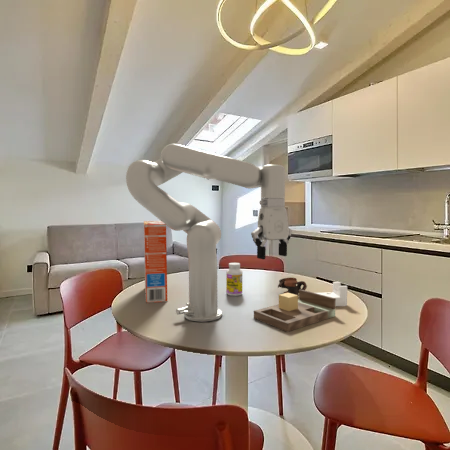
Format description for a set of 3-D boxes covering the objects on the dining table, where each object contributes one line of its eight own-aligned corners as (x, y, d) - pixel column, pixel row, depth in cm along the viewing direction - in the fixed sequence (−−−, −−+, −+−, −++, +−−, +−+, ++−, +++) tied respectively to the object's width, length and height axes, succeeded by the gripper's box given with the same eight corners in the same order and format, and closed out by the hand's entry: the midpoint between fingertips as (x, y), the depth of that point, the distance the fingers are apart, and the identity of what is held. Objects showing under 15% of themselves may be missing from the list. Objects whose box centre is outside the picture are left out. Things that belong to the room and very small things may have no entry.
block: (288, 311, 113) (288, 297, 113) (278, 307, 117) (278, 294, 116) (297, 308, 116) (298, 295, 115) (287, 305, 119) (288, 292, 119)
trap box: (287, 331, 102) (287, 311, 101) (253, 318, 114) (253, 300, 114) (335, 316, 116) (335, 298, 115) (300, 305, 128) (300, 289, 127)
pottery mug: (276, 298, 138) (274, 278, 142) (283, 303, 146) (280, 284, 150) (306, 293, 134) (303, 273, 138) (311, 298, 142) (308, 279, 146)
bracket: (339, 301, 134) (339, 281, 133) (346, 306, 127) (347, 286, 126) (306, 302, 133) (306, 282, 132) (312, 307, 126) (312, 287, 125)
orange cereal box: (167, 301, 133) (166, 224, 131) (146, 303, 132) (144, 224, 129) (163, 287, 156) (162, 220, 154) (145, 288, 154) (143, 221, 152)
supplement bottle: (223, 295, 142) (223, 264, 141) (230, 291, 148) (230, 261, 147) (238, 297, 139) (238, 265, 138) (244, 293, 145) (244, 262, 144)
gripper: (261, 204, 102) (260, 261, 103) (299, 204, 112) (299, 256, 114) (244, 204, 108) (244, 258, 109) (282, 203, 118) (282, 253, 120)
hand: (272, 257), depth 111 cm, fingers open, 9 cm apart
